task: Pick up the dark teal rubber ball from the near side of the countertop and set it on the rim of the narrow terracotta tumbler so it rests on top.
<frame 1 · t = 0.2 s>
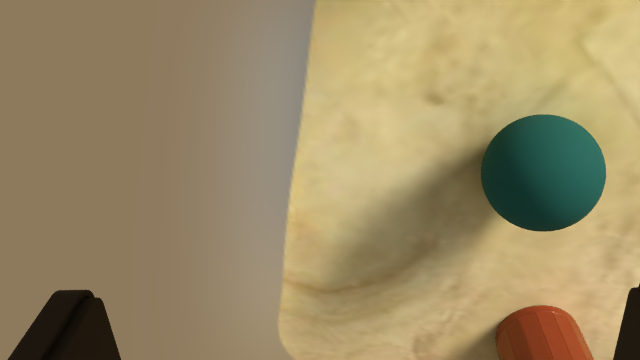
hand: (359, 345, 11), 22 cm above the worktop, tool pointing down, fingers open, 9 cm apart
ball: (526, 147, 33), on the worktop
tumbler: (536, 336, 40), on the worktop
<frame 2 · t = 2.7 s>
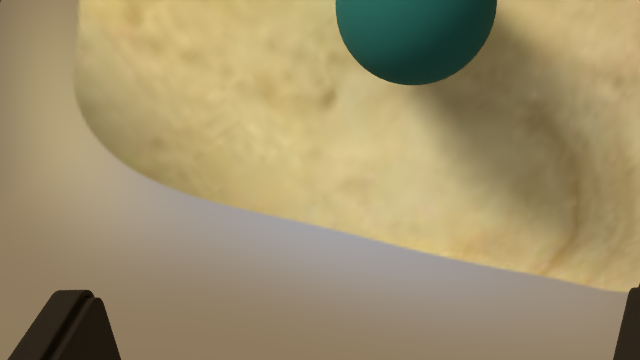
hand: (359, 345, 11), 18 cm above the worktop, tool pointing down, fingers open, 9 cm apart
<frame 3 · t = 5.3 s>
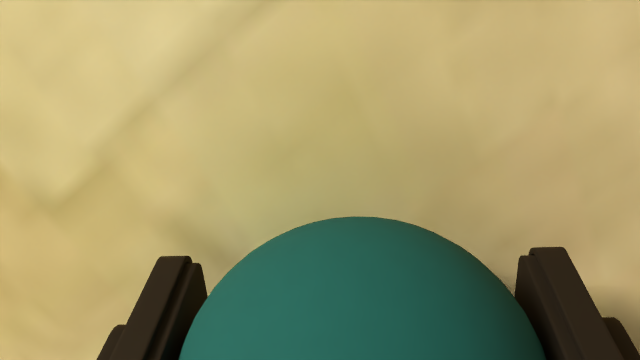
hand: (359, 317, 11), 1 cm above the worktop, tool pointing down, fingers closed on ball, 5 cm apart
ball: (358, 283, 12), on the worktop, touching gripper
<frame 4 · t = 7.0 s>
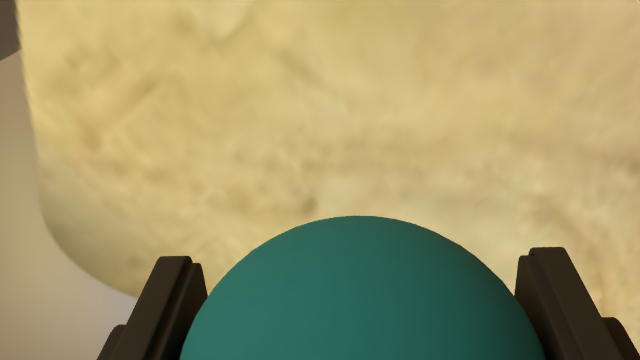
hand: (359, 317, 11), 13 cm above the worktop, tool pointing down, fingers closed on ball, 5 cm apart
ball: (359, 283, 12), point 12 cm above the worktop, touching gripper
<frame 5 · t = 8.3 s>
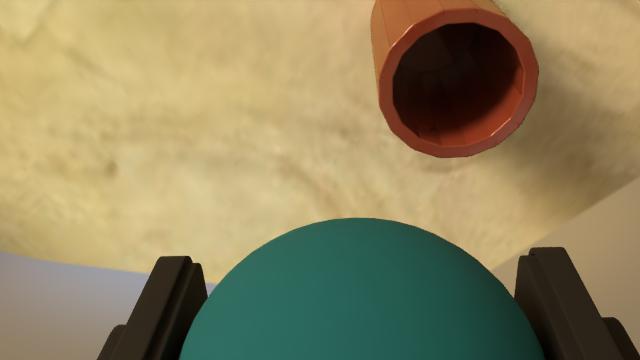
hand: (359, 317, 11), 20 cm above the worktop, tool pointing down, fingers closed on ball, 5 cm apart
ball: (358, 284, 12), point 19 cm above the worktop, touching gripper
tumbler: (427, 22, 28), on the worktop
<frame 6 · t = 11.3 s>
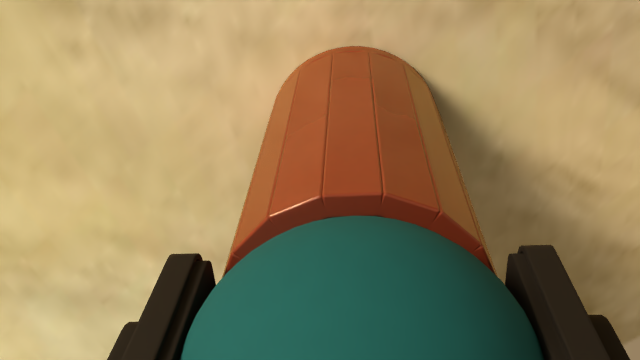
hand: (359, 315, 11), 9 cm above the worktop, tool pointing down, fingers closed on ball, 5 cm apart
ball: (358, 282, 12), point 8 cm above the worktop, touching gripper, tumbler
tumbler: (353, 126, 19), on the worktop, touching ball, gripper
when the fingers open (9 cm above the worktop, at t = 11.6 s): ball stays where it is, resting on tumbler.
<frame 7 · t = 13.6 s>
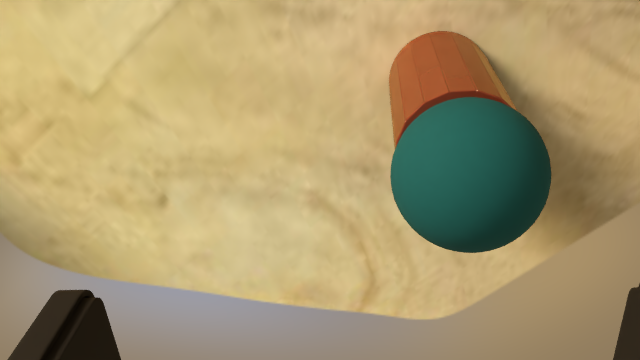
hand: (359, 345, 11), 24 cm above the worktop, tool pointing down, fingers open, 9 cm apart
ball: (458, 141, 26), point 8 cm above the worktop, touching tumbler
tumbler: (438, 79, 33), on the worktop, touching ball
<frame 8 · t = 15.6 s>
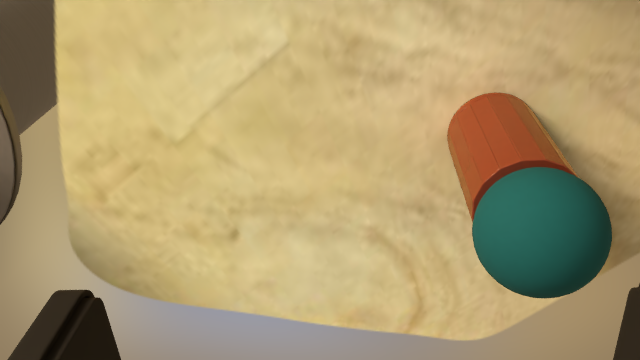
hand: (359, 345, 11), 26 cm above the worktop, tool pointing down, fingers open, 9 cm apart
ball: (523, 198, 30), point 8 cm above the worktop, touching tumbler
tumbler: (491, 133, 37), on the worktop, touching ball
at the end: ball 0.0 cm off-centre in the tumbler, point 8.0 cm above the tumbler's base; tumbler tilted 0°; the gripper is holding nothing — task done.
